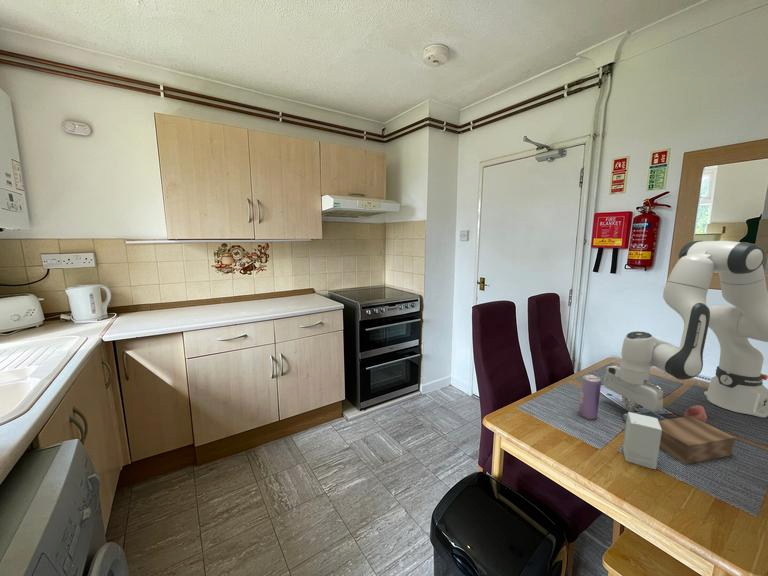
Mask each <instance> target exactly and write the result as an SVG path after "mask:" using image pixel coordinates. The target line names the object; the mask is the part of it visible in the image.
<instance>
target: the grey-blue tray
mask: <svg viewBox="0 0 768 576" xmlns="http://www.w3.org/2000/svg"><path fill="white" fill-rule="evenodd" d="M634 413H636V414H640V415H645V416H649V417H654V418H657V419H658V421H661V420H667V419H668V418H665V416H662V415H660V414H659V413H657V412H652V411H650V410H642V411H636V412H635V411H634ZM627 415H628V413H623V415H622V422H625V423H626V422H627Z"/></svg>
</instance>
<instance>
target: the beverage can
mask: <svg viewBox="0 0 768 576" xmlns="http://www.w3.org/2000/svg"><path fill="white" fill-rule="evenodd" d="M601 387H602V379H601V378H600V377H599V376H596V375H592V374H584V375H582V378H581V386H580V393H579V401H578V402H579V404H578V414H579V416H580V417H582V418H585V419H587V420H595V419H597V418H598V415H599V414H598V413H599V405H600V395H601Z"/></svg>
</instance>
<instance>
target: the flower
mask: <svg viewBox="0 0 768 576" xmlns="http://www.w3.org/2000/svg"><path fill="white" fill-rule="evenodd" d="M705 410H706V409H705V408H704V406H702V405H701V404H700V405H698V404H696V406H695V405H693V406H692V407H689V408H687V409H686V410H685V412H684V415H683V417H687V416H692V417H694V418H696V419H698V420H700V421H702V422H704V423H706V421H707V418H708V416H707V414H706V411H705Z"/></svg>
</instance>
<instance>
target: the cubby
mask: <svg viewBox="0 0 768 576" xmlns="http://www.w3.org/2000/svg"><path fill="white" fill-rule="evenodd" d="M666 419H667V420H661V421H659V424H660V426H661V429H662V433H661V440H660V447H659V450H662V451H664V452H665V453H667V454H668V455H670V456H672V457H673V458H675V459H676V460H678V461H680V462H681V463H683V464H685V465H689V464H693V463H698V462H699V463H700V462H704V461H708V460H709V461H710V460H713V459H718V458H719V457H720V458H723V457H724V456H725V457H730V456H732V454H733V449H734V444H735V438H736V437H735V436H733V435H730V434H729V433H727V432H724V431H723V430H720V429H718V428H716V427H714V426H712V425H710V424H708V423H706V422H702V421H700V420H698V419H696V418H694V417H692V416H687V417H685V416H681V417H676V418H666ZM720 458H719V459H720Z"/></svg>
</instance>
